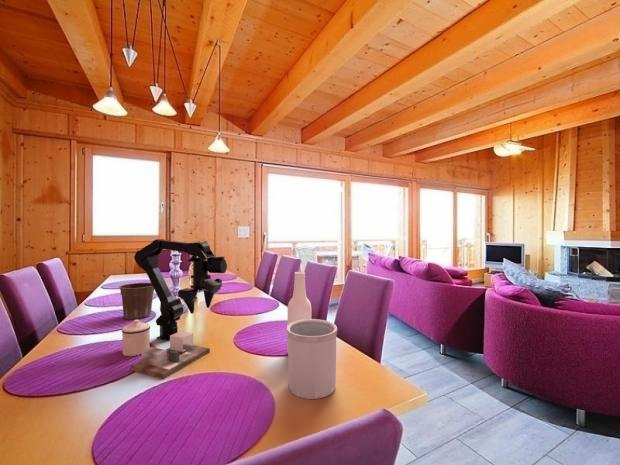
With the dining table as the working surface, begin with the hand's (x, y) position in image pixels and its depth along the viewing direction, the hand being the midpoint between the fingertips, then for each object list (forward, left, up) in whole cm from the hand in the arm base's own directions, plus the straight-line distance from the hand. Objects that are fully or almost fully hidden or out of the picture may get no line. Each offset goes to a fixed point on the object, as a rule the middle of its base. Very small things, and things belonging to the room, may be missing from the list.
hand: (200, 310), depth 120 cm
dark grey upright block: (+8, -22, -10) cm, 25 cm away
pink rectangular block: (+5, -13, -10) cm, 17 cm away
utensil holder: (+55, -16, -12) cm, 58 cm away
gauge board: (+5, -19, -12) cm, 23 cm away
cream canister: (-15, -18, -12) cm, 26 cm away
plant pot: (-52, +13, -12) cm, 55 cm away
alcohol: (+43, +3, -12) cm, 45 cm away
